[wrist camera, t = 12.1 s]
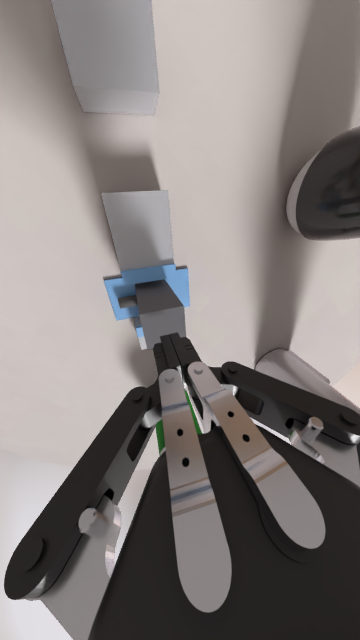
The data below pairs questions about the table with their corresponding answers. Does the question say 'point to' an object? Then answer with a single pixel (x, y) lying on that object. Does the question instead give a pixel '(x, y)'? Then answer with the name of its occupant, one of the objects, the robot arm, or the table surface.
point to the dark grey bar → (157, 310)
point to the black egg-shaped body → (328, 191)
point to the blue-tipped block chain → (123, 98)
